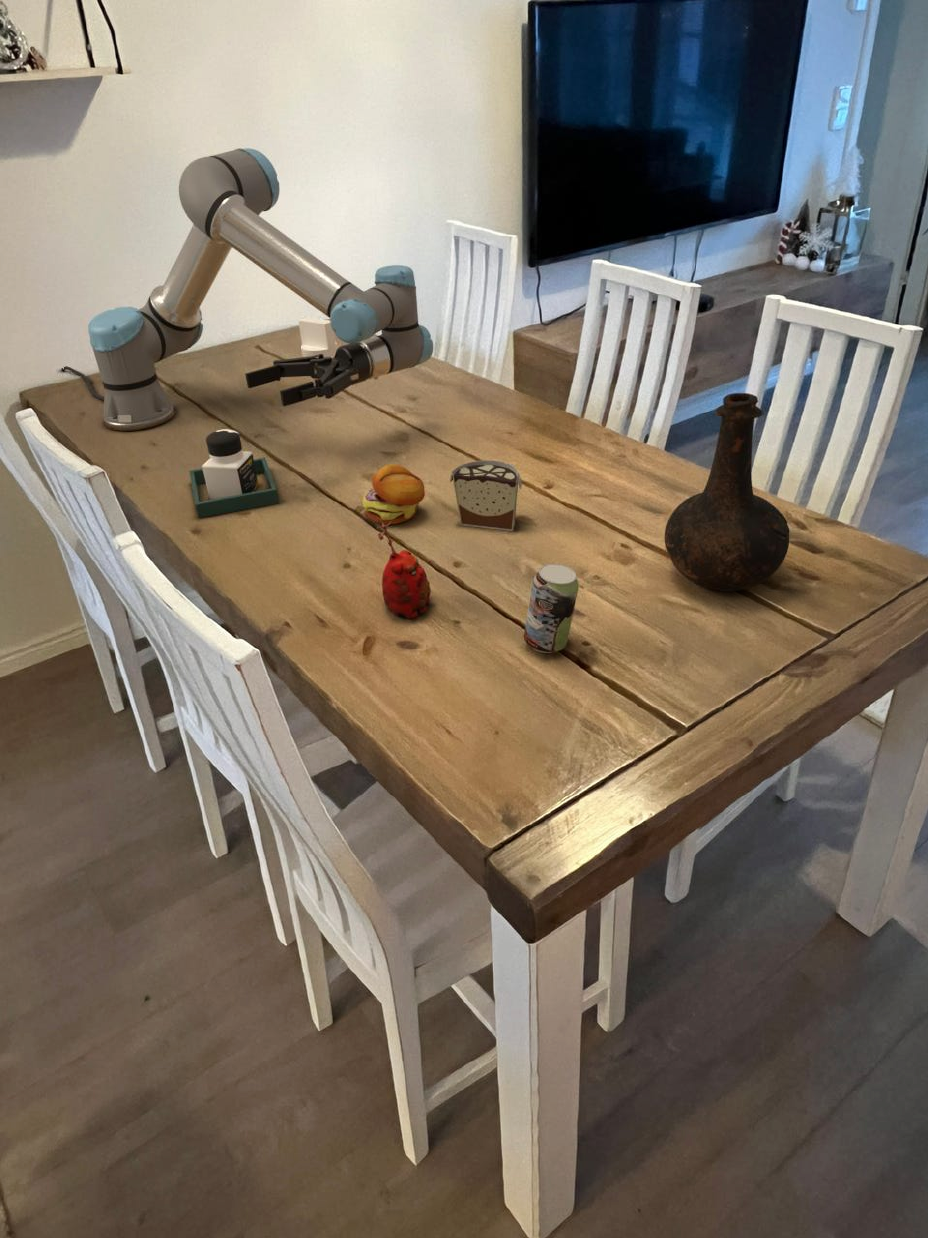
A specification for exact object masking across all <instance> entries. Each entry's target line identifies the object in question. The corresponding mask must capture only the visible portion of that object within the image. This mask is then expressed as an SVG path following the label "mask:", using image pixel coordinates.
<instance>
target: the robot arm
mask: <svg viewBox="0 0 928 1238" xmlns="http://www.w3.org/2000/svg"><path fill="white" fill-rule="evenodd" d="M280 189H281V188H280V182H279V179H278V174H277V171H276V169H275V167H274V165H273V163H272V162H271V161H270V159H269V158H268V157H267V156H266V155H265V154H263V153H262V151H259V150H257V149H254V148H249V147H248V148H247V147H245V148H235V149H233V150H230V151H229V150H228V151H225V152H221V153H217V154H213V155H209V156H201V157H200V158H196V159H194V160H193V161H191V162H190V163H189V164H188V165H187V166H186V167H185V168H184V170H183V171H182V173H181V175H180V178H179V183H178V197H179V201H180V204H181V208H182V209H183V211H184V214H185V215H186V216H187V218H188V219H189V220H190V222H191V223H192V226H191V227H190V231H189V232H188V235H187V236H186V238H185V241H184V242H183V245H182V247H181V248H180V250H179V252H178V255H177V256H176V258H175V261H174V263H173V265H172V267H171V269H170V271H169V272H168V275H167V277H166V279H165V281H164V284H162V285H158V286H155V287H154V288H153V289H152V290H151V292H150V295H148V296H149V297H148V298H147V301H146V302H145V304H144V306H143V307H141V308H136V307H133V306H120V307H119V306H118V307H115V308H114V309H108V310H105V311H103V312H100V313H99V314H96V316H94V317H92V319H91V320H90V321H89V323H88V326H87V331H88V335H89V344H90V347H91V348H92V351H93V355H94V358H95V362H96V365H97V368H98V371H99V375H100V379H101V383H102V385H103V390H104V396H102V395H100V394H98V393H97V391H95V389H94V388H93V387H92V385H91V380H90V379H89V378H88V377H87V376H86V375H85V374H84V373H82V372H80V371H78V370H76V369H74V368H73V367H71V366H66V365H65V367H64V366H63V367H64V369H63V368H62V367H61V369H60V372H61V373H63V372H65V370H67V371H69V372H71V373H73V374H75V375H77V376H79V377H81V378H82V379H84V381H85V382H86V385H87V388H88V390H89V392H90V393H91V394H92V395H93V396H94V397H95V398H96V399H98V400H100V401H103V419H104V424H105V426H106V427H107V428H108V429H110V430H114V431H119V432H120V431H121V432H133V431H141V430H145V429H151V428H154V427H158V426H160V425H162V424H164V423H166V422H168V421H169V420H171V419H172V418H173V417H174V415H175V409H174V404H173V403H172V401H171V400H170V397H169V396H168V394H167V393H166V391H165V390H164V388H163V386H162V385H161V383H160V381H159V379H158V375H157V370H156V367H155V364H157V363H159V362H162V361H163V360H166V359H168V358H170V357H172V356H175V355H176V354H179V353H182V352H186V351H187V350H189V349H191V348H192V347H193V346H194V345H196V344H197V343H198V342H199V341H200V339H201V337H202V335H203V331H204V323H202V321H203V315H202V309H201V306H202V303H203V302H204V300H205V298H206V297H207V295H208V293H209V291H210V289H211V287H212V285H214V282H215V280H216V278H217V276H218V274H219V272H220V271H221V269H222V267H223V265H224V263H225V262H226V260H227V258H228V256H229V254H230V252H231V251H232V249H234V250H235V251H237V252H238V253H239V254H240V255H242V256H243V257H245V258H246V259H248V260H249V261H250V262H252V263H253V264H254V265H256V266H257V267H259V268H260V269H261V270H263V271H264V272H265V273H267V274H268V275H269V276H270V277H273V278H274V280H276V281H278V282H279V283H281V284H282V285H283V286H285V287H286V288H287V289H289V290H290V291H292V293H294V294H296V295H297V296H298V297H300V298H301V299H303V300H304V301H306V303H308V304H310V305H311V306H312V307H313V308H315V309H316V310H318V311H319V312H320V313H322V314H323V315H325V316H326V317H327V318H329V321H330V323H331V327H332V330H334V335H335V336H336V337H337V338H338V339H339V340H340V341H342V342H344V343H346V344H343V345H339V347H337V348H338V349H337V351H336V354H335V356H334V358H331V357H324V356H323V354H319V355H314V356H309V357H302V356H301V357H294V358H293V357H292V358H284V359H275V360H273V361H272V363H273V365H271V366H268V367H264V368H260V369H257V370H254V371H250V372H245V373H244V375H245V381H246V386H247V388H248V389H253V388H257V387H260V386H264V385H267V384H270V383H273V382H281V380H282V378H300V377H301V378H303V377H311V378H312V379H314V382H313V381H308V382H305V383H301V384H299V385H296V386H292V387H289V388H285V389H282V390H279V393H280V395H279V396H280V400H281V405H282V406H283V407H288V406H290V405H295V404H297V403H301V402H304V401H308V400H311V399H314V398H316V397H317V398H322V397H324V398H325V399H326V400H327V399H328V400H329V399H332V398H334V397H335V396H337V395H338V394H340V393H342V392H343V391H345V390H346V389H348V388H349V387H351V386H354V385H357V384H360V383H364V382H366V381H367V380H375V381H376V380H379V377H382V376H383V377H384V376H386V375H388V374H392V373H395V372H400V371H403V370H406V369H413V368H415V367H417V366H419V365H422V364H425V363H426V362H428V361H430V359H431V357H432V356H433V353H434V341H433V339H432V335H431V332H430V330H429V329H428V328H427V327H426V326H424V325H422V324H419V312H418V298H417V286H416V281H415V275H414V273H415V272H414V270H413V269H412V268H411V267H410V266H408V265H401V264H394V265H393V264H392V265H386V266H382V267H379V268H377V269H376V271H375V273H374V278H375V279H374V284H375V285H374V286H372V287H370V288H368V289H366V290H364V291H363V289H360V288H359V287H358V286H357V285H355V284H354V283H352V282H351V281H349V280H348V279H347V278H345V277H344V276H343V275H341V274H340V273H338V271H335V270H334V269H333V268H332V267H330V266H329V265H327V264H326V263H324V262H323V261H322V260H321V259H319V258H318V257H316V256H315V255H314V254H313V253H311V252H310V251H308V250H307V249H306V248H304V247H303V246H301V245H300V244H299V243H297V242H296V241H294V240H293V239H292V238H290V237H289V236H288V235H286V234H285V233H284V232H282V231H280V229H278V228H277V227H275V226H274V225H272V224H271V223H270V222H268V221H267V220H266V219H264V218H263V217H262V216H261V214H262V212H268V211H269V210H271V209H272V208H273V207H274V206H275V205H276V204H277V202H278V200H279V197H280V191H281V190H280ZM380 331H381V334H379V335H376V336H375V334H377V333H379V332H380ZM315 370H316V371H315Z"/></svg>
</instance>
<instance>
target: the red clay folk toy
mask: <svg viewBox="0 0 928 1238" xmlns="http://www.w3.org/2000/svg"><path fill="white" fill-rule="evenodd" d="M378 521H380V522H381V523H380V524H381V525H382V526H381V527H380V526H379V527H378V526H377V527H376V530H381V529H382V530H383V531H382V532H378V534H377V537H378V540H380V541H383V539H384V535H386V537H387V544H388V546H389V547H390V549H391V554H390V555H389V558H388V561H387V562H386V564H385V567H384V569H383V571H382V577H381V587H382V597H383V602H384V605H385V606H386V607H387V609H388V610H389V611H390V612H391V613H392V614H393V615H394V616H396V617H398V618H403V617H404V618H405V619H409V620H410V619H415V618H416V617H418V616H419V615H422V614H423V613H426V612H427V606H429V605H430V603H431V599H430V596H431V592H432V591H431V587H430V586H431V585H430V584H431V583H430V581H429V579H428V576H427V574H426V571H425V569H424V567H423V566H422V565H421V564H420V562H419V559H418V557H417V556H416V555H413V554H412V552H411V551H409V550H406V549H403V550H402V551H400V552H399V553H398V552H396V550H395V548H394V546H393V542H394V539H391V538H390V535H389V532H388V530H387V529H388V527H389V526H390V525H392V524H391V523H392V522H390V523H389V524H383V522H382V521H381V520H380V519H378Z"/></svg>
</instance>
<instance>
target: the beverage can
mask: <svg viewBox="0 0 928 1238" xmlns="http://www.w3.org/2000/svg"><path fill="white" fill-rule="evenodd" d="M579 588H580V584H579V580H578V579H577V573H576V572H575V571H574V570H573V569H572V568H571V567H569V566H567V565H564V564H560V563H547V564H544V565H542V566H541V567H540V568H539V570H538V572H536V573H535V574H534V577H533V581H532V587H531V592H530V597H529V603H528V608H527V614H526V621H525V627H524V631H523V639H524V641H525V643H526V644H527V645H528V646H529V647H530V648H532V649H533V650H535V651H537V652H540V653H544V654H551V653H555V652H559V651H562V650H563V649H565V648H566V646H567V644H568V640H569V636H570V631H571V625H572V621H573V617H574V610H575V607H576V602H577V597H578V592H579Z"/></svg>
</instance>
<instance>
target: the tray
mask: <svg viewBox="0 0 928 1238" xmlns="http://www.w3.org/2000/svg"><path fill="white" fill-rule="evenodd" d="M253 459H254V464H255V469H256V474H264V477H265V479H266V482H267V485H268V489H262V490H261V489H260V490H257V491H253V492H251V493H245V494H240V495H234V496H229V497H224V498H218V499H213V500H210V499H208V500H203V501H201V499H200V493H199V488H198V485H203V484H206V482H205V477H204V473H203V469H202V468H197V469H191V470H189V477H190V483H191V487H192V493H193V499H194V506H195V509H196V512H197V517H198V519H201V518H208V517H213V516H217V515H223V514H228V513H234V512H239V511H244V510H249V509H254V508H260V507H265V506H270V505H275V504H276V505H277V504H279V503H280V501H279V495H278V490H277V486H276V484H275V482H274V478H273V476H272V473H271V470H270V467H269V465H268V461H267V459H266V457H259V458H253Z"/></svg>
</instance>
